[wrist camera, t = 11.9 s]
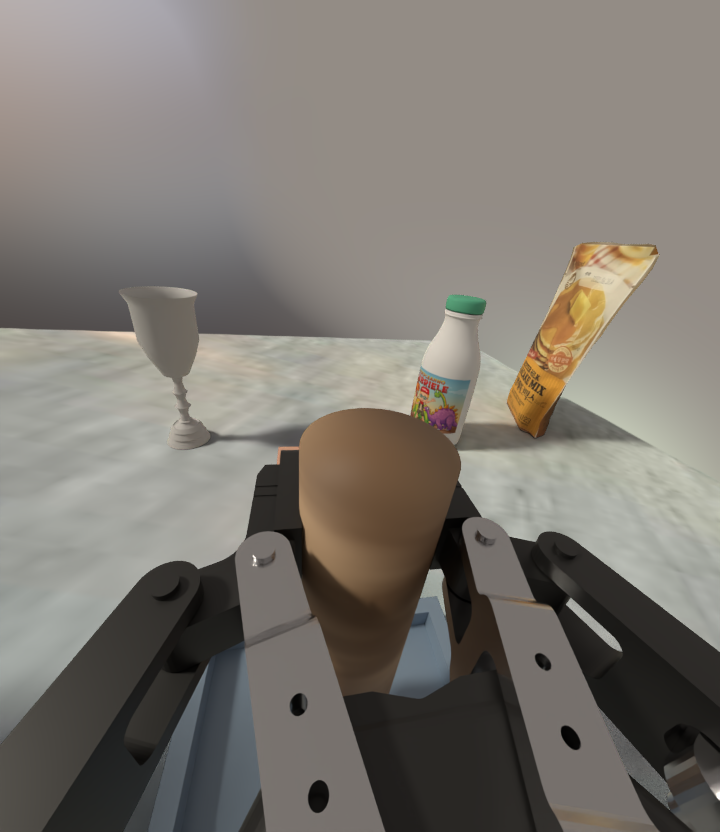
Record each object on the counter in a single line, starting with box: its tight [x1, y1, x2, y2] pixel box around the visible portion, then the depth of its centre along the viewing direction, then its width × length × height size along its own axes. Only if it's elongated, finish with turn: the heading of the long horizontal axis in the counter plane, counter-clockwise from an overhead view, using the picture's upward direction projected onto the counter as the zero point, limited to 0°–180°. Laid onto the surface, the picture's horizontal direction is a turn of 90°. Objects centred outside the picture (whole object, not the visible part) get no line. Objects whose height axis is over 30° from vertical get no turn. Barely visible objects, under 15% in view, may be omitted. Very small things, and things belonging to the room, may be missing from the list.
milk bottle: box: [410, 295, 486, 445], centre depth 42 cm, size 8×8×20 cm
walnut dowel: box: [299, 408, 461, 696], centre depth 11 cm, size 4×4×15 cm
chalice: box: [119, 286, 211, 450], centre depth 36 cm, size 7×7×18 cm
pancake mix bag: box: [507, 242, 660, 438], centre depth 50 cm, size 7×19×28 cm, turn 167°
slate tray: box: [148, 596, 451, 832], centre depth 17 cm, size 16×11×2 cm
